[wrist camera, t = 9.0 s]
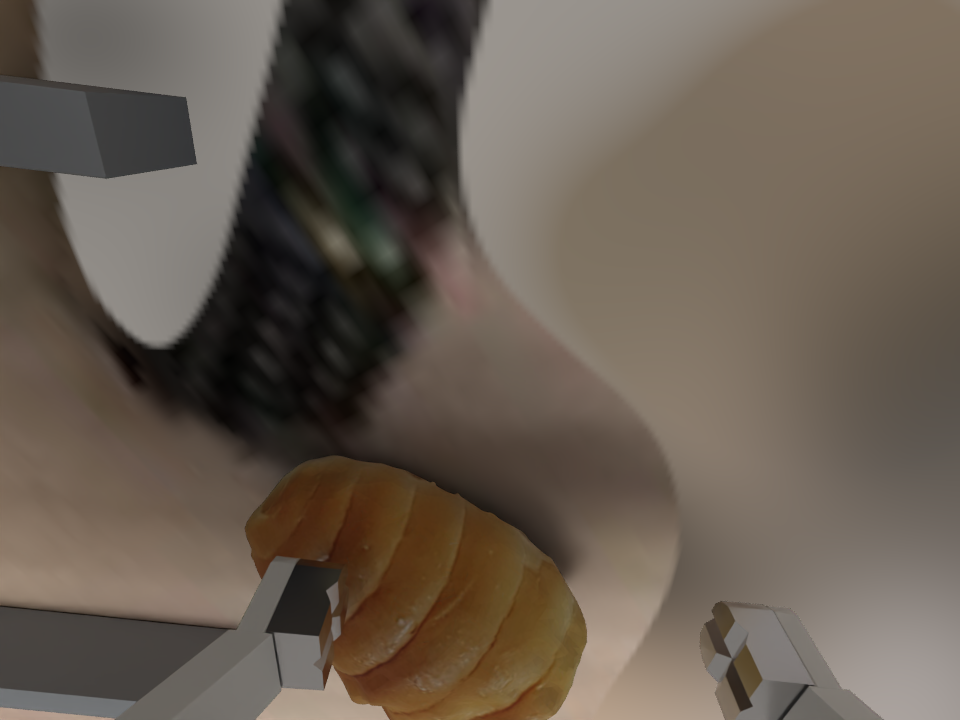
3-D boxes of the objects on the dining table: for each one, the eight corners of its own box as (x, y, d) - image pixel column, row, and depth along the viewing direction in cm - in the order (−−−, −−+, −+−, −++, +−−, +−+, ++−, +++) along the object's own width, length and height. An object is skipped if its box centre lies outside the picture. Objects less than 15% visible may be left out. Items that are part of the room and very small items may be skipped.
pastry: (232, 519, 14) (143, 646, 11) (363, 388, 12) (299, 501, 8) (459, 660, 17) (444, 797, 13) (608, 578, 14) (635, 723, 11)
